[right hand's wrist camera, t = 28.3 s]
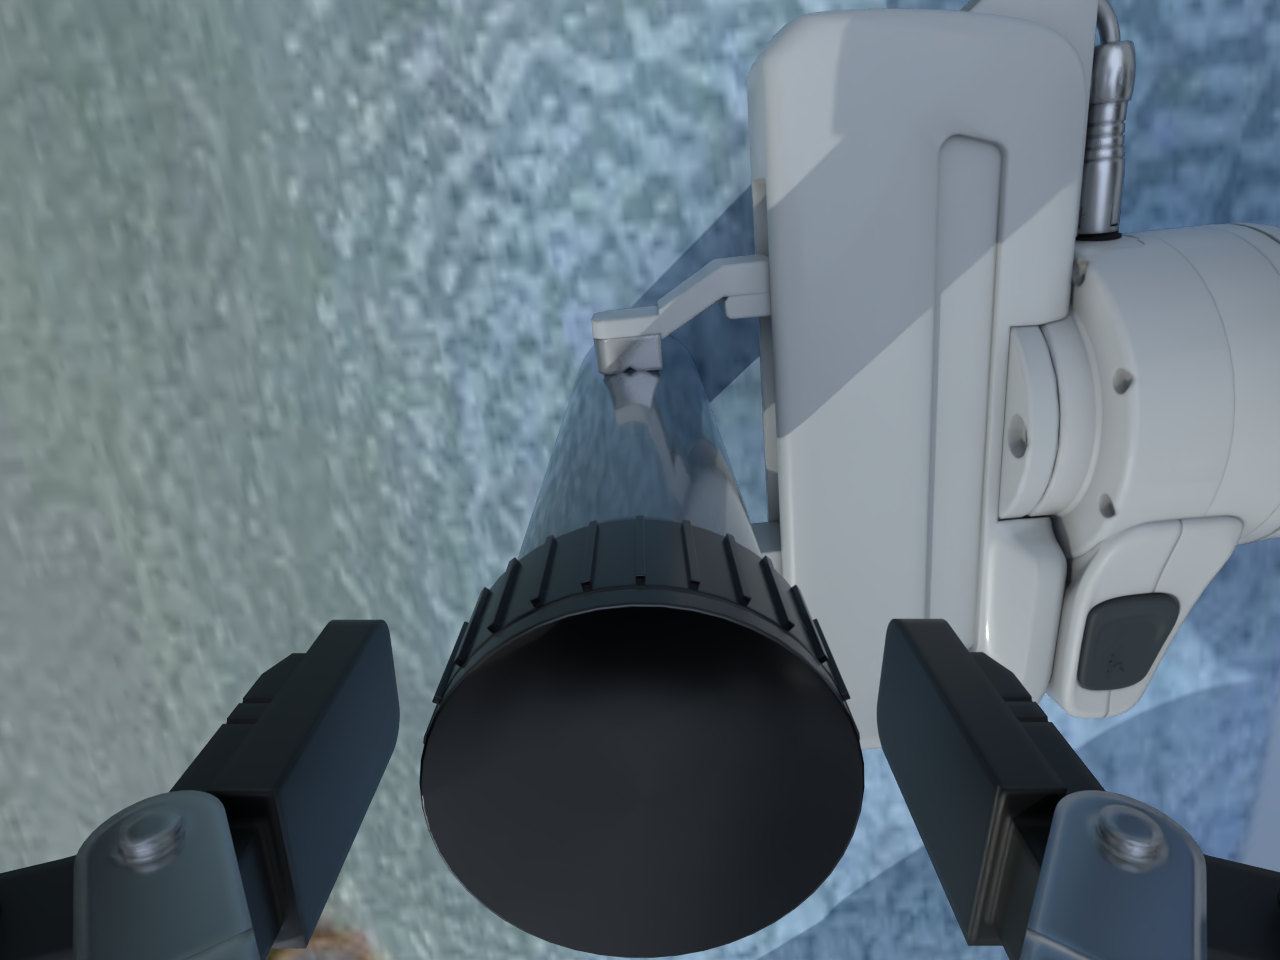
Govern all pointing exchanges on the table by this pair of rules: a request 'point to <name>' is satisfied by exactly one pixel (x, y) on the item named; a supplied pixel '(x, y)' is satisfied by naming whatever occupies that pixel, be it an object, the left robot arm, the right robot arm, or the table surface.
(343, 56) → the table surface
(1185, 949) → the right robot arm
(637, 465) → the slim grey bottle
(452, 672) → the lid
